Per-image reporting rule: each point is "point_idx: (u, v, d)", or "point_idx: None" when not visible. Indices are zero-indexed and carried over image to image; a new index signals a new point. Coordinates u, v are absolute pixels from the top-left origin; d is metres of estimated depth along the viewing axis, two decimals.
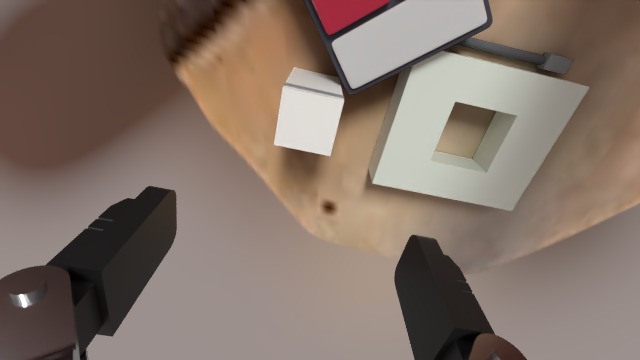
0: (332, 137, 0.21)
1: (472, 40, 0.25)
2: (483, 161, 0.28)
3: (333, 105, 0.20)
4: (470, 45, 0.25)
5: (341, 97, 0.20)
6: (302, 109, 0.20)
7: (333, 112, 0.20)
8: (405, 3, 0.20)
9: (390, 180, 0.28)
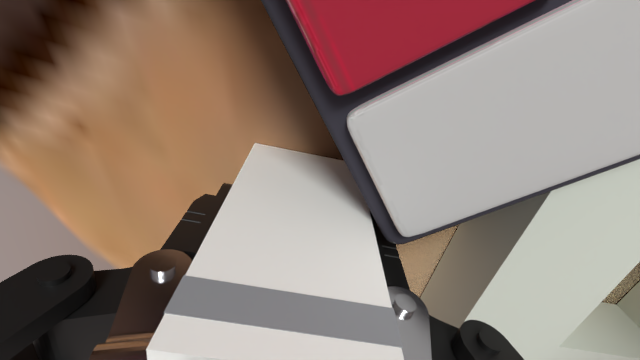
0: None
1: None
2: None
3: None
4: None
5: (392, 340, 0.05)
6: None
7: None
8: None
9: None
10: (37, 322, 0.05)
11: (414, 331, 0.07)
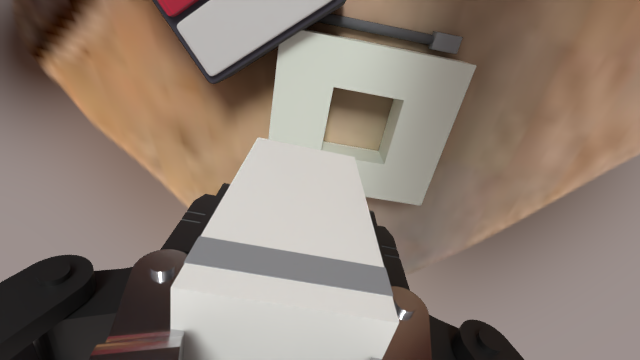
0: None
1: (349, 20, 0.23)
2: (383, 152, 0.26)
3: (359, 333, 0.06)
4: (348, 26, 0.23)
5: (384, 290, 0.06)
6: (250, 343, 0.06)
7: (359, 350, 0.06)
8: None
9: None
10: (37, 322, 0.05)
11: (414, 331, 0.07)
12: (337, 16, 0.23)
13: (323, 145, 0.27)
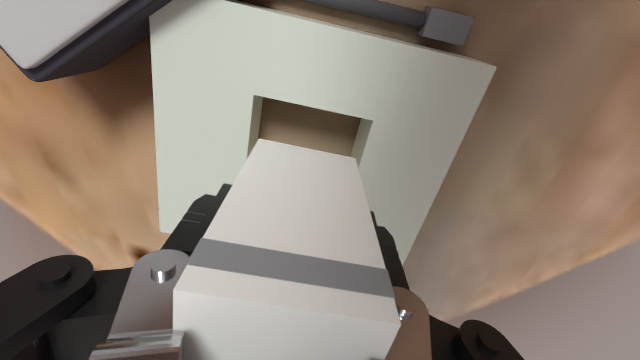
0: None
1: None
2: None
3: (361, 334, 0.06)
4: None
5: (385, 292, 0.06)
6: (253, 345, 0.06)
7: (361, 352, 0.06)
8: None
9: None
10: (37, 322, 0.05)
11: (414, 331, 0.07)
12: None
13: None
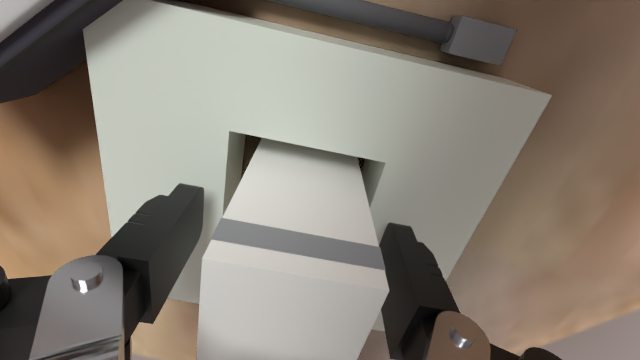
0: None
1: None
2: None
3: (356, 299, 0.07)
4: None
5: (377, 265, 0.07)
6: (266, 306, 0.07)
7: (356, 314, 0.07)
8: None
9: None
10: None
11: None
12: None
13: None
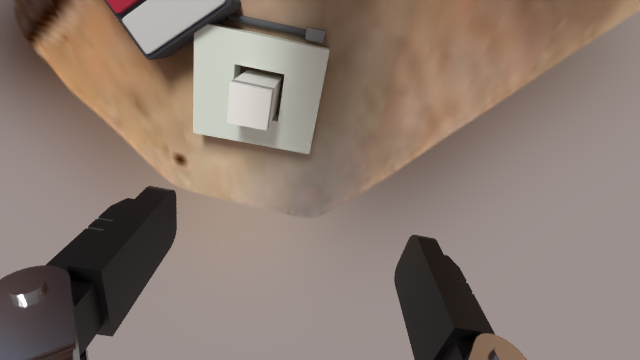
0: (266, 117, 0.30)
1: (246, 18, 0.33)
2: None
3: (265, 94, 0.29)
4: (246, 22, 0.33)
5: (271, 89, 0.30)
6: (244, 97, 0.30)
7: (265, 99, 0.30)
8: None
9: (206, 130, 0.36)
10: None
11: None
12: (238, 15, 0.33)
13: None
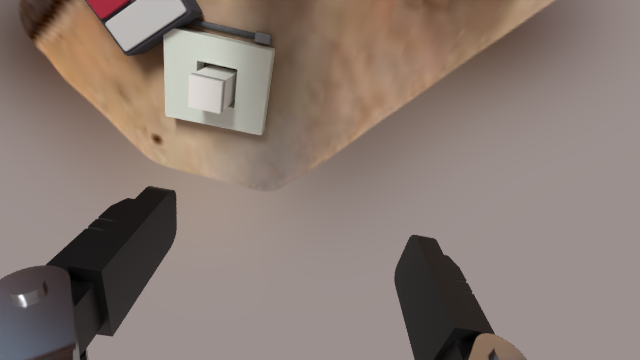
0: (219, 102, 0.39)
1: (206, 24, 0.41)
2: None
3: (216, 85, 0.38)
4: (207, 26, 0.41)
5: (222, 81, 0.38)
6: (200, 86, 0.38)
7: (217, 88, 0.38)
8: (138, 0, 0.37)
9: (176, 113, 0.44)
10: None
11: None
12: (200, 21, 0.41)
13: None
